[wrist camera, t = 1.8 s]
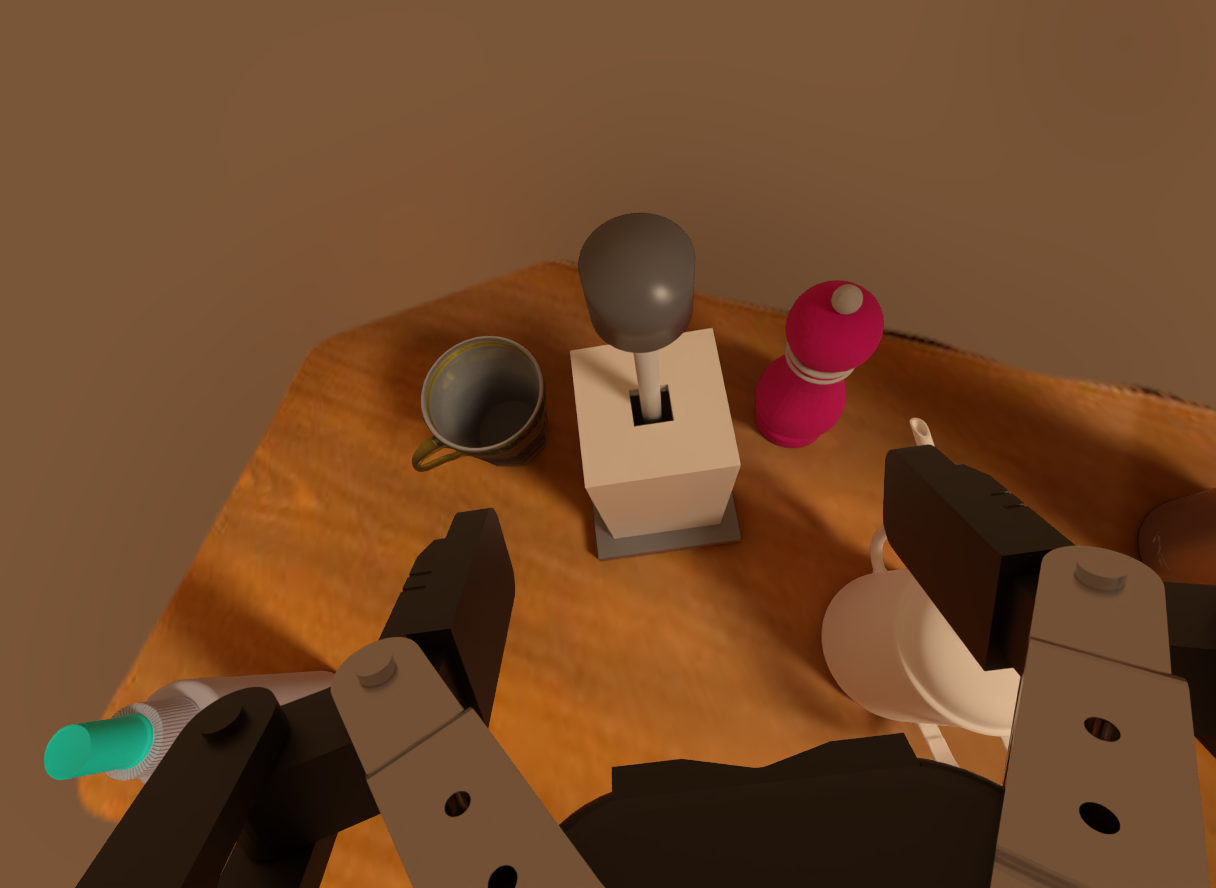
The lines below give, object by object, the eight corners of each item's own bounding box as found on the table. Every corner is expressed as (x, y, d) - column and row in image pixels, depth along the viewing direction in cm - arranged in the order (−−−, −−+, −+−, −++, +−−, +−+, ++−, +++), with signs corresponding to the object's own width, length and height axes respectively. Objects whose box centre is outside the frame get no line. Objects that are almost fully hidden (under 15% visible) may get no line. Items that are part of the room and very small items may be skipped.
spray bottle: (359, 671, 51) (140, 686, 30) (348, 749, 49) (105, 825, 28) (292, 669, 51) (32, 684, 30) (279, 747, 49) (-9, 819, 29)
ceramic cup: (518, 366, 58) (488, 312, 49) (588, 432, 55) (570, 388, 46) (418, 457, 56) (366, 419, 47) (484, 531, 53) (443, 506, 44)
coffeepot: (905, 475, 51) (1027, 383, 33) (1019, 805, 42) (1264, 918, 25) (779, 498, 51) (832, 420, 34) (867, 829, 43) (1001, 955, 25)
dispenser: (712, 403, 55) (729, 289, 38) (739, 542, 51) (772, 486, 33) (584, 422, 56) (543, 320, 38) (600, 561, 51) (562, 516, 34)
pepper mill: (754, 374, 55) (794, 234, 37) (834, 385, 54) (918, 245, 35) (744, 447, 53) (781, 337, 34) (828, 459, 52) (913, 353, 33)
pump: (680, 407, 42) (684, 203, 23) (691, 465, 41) (704, 301, 21) (619, 416, 43) (572, 223, 23) (627, 475, 41) (584, 320, 22)
